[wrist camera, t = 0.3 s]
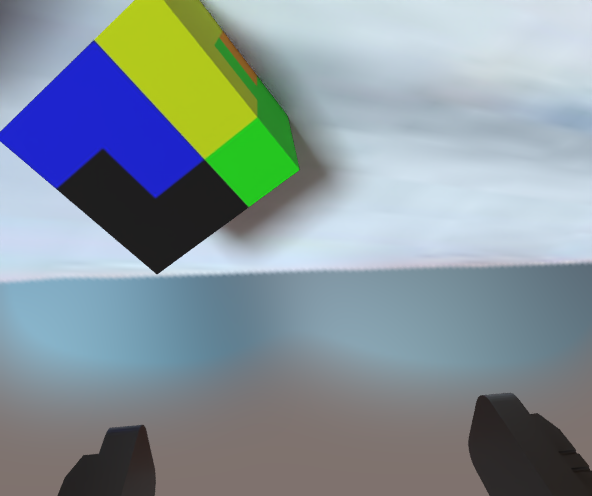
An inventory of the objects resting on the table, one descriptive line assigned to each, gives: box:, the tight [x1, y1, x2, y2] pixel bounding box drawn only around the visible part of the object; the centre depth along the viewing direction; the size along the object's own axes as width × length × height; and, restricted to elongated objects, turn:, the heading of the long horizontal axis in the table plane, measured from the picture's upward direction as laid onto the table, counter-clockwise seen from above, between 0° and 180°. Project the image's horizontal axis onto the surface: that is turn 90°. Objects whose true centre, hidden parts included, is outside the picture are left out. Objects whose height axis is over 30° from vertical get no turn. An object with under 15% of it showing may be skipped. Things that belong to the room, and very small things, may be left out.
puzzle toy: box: [0, 0, 300, 274], centre depth 25 cm, size 10×10×10 cm
